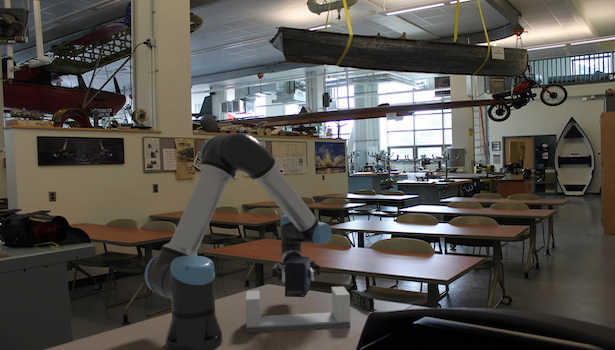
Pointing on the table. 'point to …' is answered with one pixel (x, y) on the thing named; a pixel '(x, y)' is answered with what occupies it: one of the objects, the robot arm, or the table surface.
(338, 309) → the block
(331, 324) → the panel
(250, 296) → the block
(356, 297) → the mobile phone
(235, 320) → the table surface
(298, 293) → the small box
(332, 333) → the table surface
